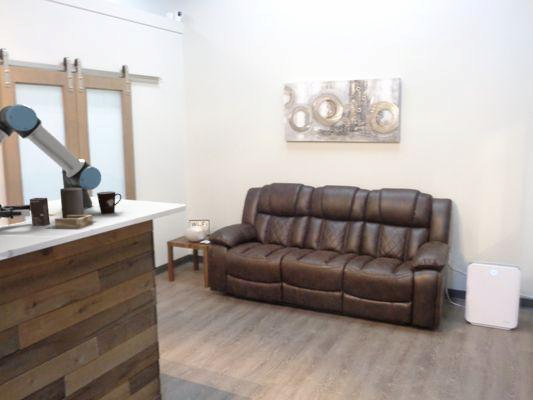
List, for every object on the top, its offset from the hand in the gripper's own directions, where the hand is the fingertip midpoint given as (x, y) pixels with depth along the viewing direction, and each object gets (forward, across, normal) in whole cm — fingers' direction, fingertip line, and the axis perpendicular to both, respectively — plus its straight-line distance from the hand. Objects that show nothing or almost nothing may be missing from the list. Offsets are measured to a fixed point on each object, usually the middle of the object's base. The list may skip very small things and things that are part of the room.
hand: (37, 210), depth 217 cm
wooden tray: (+17, +2, -6) cm, 18 cm away
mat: (+16, +2, -7) cm, 17 cm away
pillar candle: (+7, -19, -7) cm, 21 cm away
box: (+1, 0, -7) cm, 7 cm away
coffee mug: (+21, -29, -7) cm, 37 cm away
